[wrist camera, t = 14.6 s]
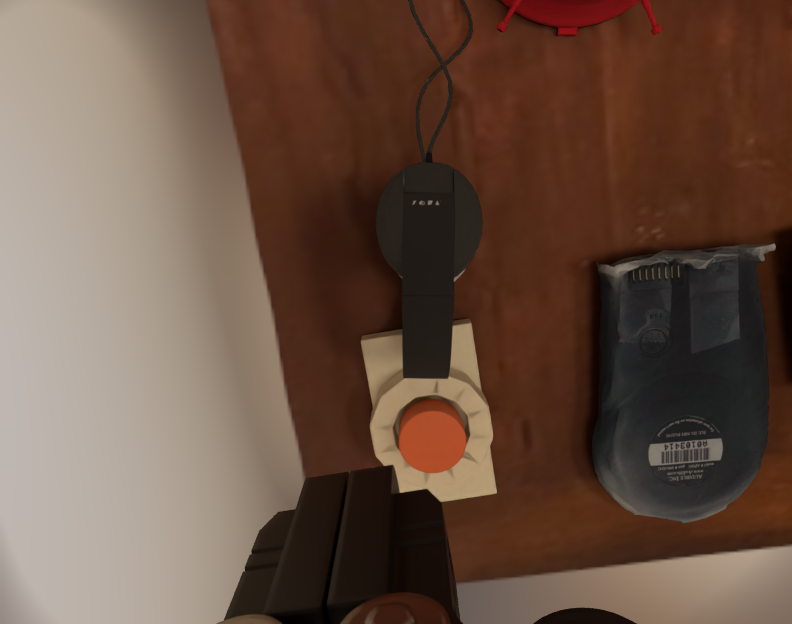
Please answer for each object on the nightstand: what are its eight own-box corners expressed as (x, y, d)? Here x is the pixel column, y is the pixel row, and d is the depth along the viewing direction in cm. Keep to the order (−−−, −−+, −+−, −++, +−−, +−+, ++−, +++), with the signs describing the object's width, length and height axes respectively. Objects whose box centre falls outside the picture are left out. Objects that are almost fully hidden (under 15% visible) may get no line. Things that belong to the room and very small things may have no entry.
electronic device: (563, 260, 37) (589, 521, 38) (605, 257, 31) (634, 563, 32) (721, 241, 38) (742, 497, 39) (788, 236, 32) (811, 534, 33)
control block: (359, 335, 37) (354, 349, 34) (472, 317, 36) (477, 330, 33) (389, 499, 39) (388, 526, 36) (497, 483, 38) (504, 509, 35)
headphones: (468, -7, 35) (465, 367, 36) (387, -7, 36) (384, 366, 36) (489, -127, 25) (484, 393, 26) (376, -126, 26) (372, 392, 26)
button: (394, 404, 35) (393, 416, 33) (458, 393, 35) (461, 405, 33) (404, 463, 35) (404, 478, 34) (468, 454, 35) (471, 468, 33)
